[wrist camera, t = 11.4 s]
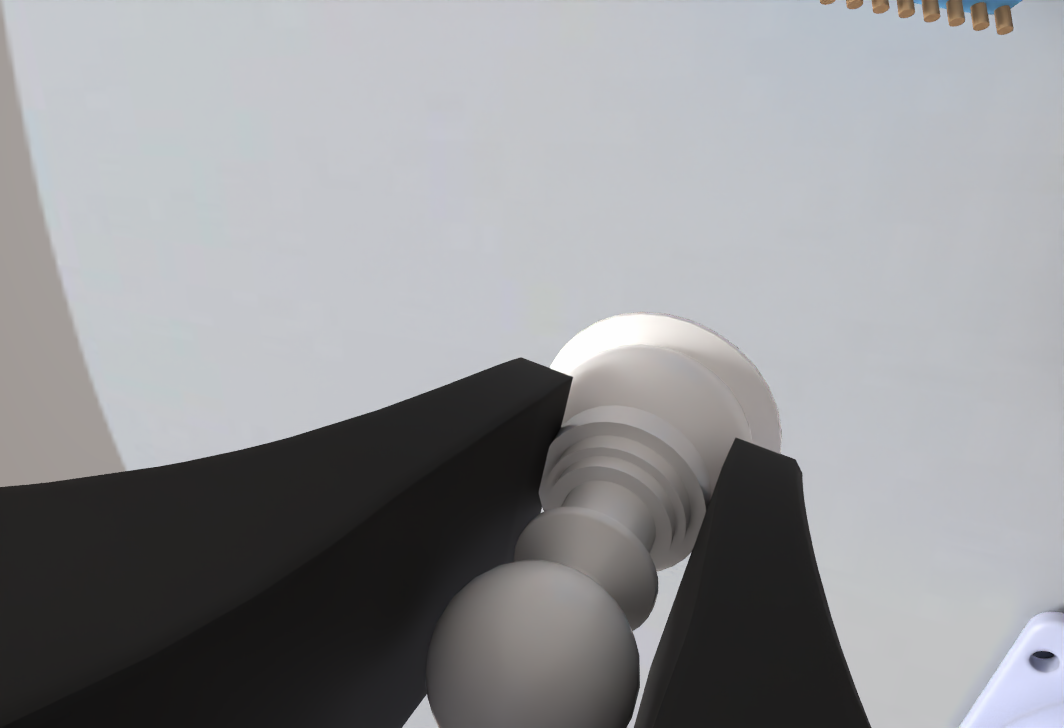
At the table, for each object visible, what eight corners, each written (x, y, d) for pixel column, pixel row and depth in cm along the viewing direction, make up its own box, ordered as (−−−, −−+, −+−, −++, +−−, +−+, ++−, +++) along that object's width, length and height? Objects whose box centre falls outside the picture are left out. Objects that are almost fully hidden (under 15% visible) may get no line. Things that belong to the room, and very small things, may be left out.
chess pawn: (712, 268, 10) (533, 529, 6) (827, 486, 10) (740, 873, 6) (508, 356, 11) (246, 615, 7) (617, 545, 12) (434, 887, 8)
